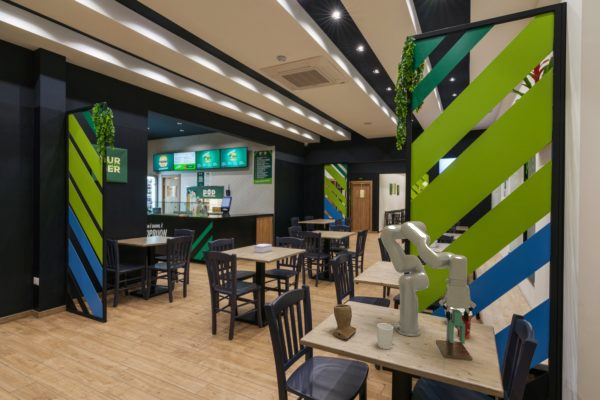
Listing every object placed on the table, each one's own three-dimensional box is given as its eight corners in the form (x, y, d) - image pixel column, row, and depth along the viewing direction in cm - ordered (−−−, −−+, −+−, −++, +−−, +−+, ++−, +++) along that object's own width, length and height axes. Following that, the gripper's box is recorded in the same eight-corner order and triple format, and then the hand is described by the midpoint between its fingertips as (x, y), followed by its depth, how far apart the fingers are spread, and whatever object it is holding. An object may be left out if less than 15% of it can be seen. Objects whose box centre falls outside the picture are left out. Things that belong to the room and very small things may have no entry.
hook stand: (444, 358, 148) (445, 324, 148) (435, 342, 165) (436, 310, 165) (472, 361, 146) (473, 326, 146) (461, 344, 163) (462, 312, 162)
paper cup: (473, 340, 167) (474, 313, 167) (457, 338, 169) (458, 312, 169) (469, 334, 175) (469, 308, 175) (453, 332, 176) (454, 307, 176)
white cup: (383, 351, 155) (383, 330, 154) (373, 344, 162) (373, 324, 162) (396, 348, 158) (397, 328, 158) (386, 341, 165) (386, 322, 165)
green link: (450, 342, 150) (451, 312, 149) (448, 338, 153) (449, 309, 153) (464, 343, 148) (465, 313, 148) (461, 340, 152) (462, 310, 152)
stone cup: (339, 326, 183) (339, 300, 183) (358, 331, 177) (359, 304, 176) (326, 336, 170) (327, 307, 170) (347, 342, 164) (347, 312, 164)
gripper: (439, 283, 148) (439, 321, 149) (481, 285, 145) (480, 324, 145) (436, 278, 156) (435, 315, 156) (475, 281, 152) (474, 318, 153)
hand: (456, 319), depth 151 cm, fingers open, 6 cm apart
